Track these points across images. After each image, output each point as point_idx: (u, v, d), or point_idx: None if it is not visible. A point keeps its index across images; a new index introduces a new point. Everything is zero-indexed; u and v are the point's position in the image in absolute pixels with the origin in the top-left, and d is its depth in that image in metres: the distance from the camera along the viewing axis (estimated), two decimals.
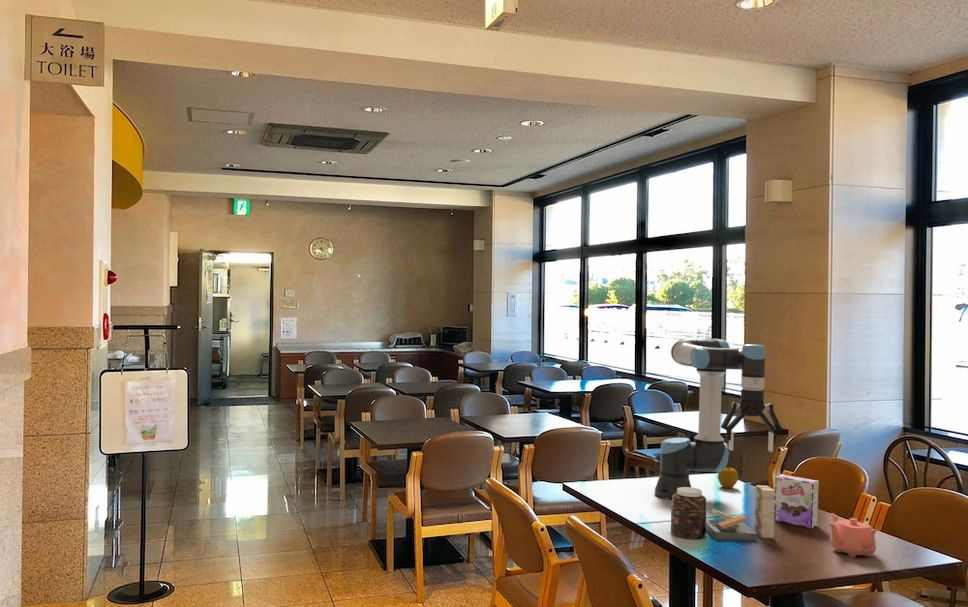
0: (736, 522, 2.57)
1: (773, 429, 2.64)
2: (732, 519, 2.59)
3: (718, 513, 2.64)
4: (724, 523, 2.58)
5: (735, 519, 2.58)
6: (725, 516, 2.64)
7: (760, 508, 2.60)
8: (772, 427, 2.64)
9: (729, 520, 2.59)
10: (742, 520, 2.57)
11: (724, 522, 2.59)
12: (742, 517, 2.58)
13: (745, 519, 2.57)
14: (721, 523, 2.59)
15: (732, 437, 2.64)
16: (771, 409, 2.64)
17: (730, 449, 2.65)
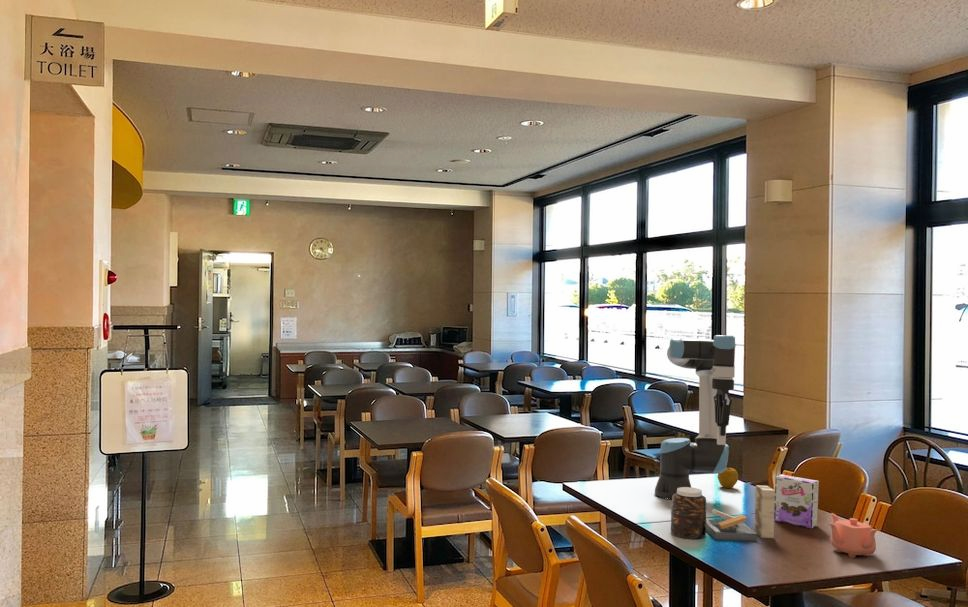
0: (736, 522, 2.57)
1: (719, 422, 2.73)
2: (732, 519, 2.59)
3: (718, 513, 2.64)
4: (724, 523, 2.58)
5: (735, 519, 2.58)
6: (725, 516, 2.64)
7: (760, 508, 2.60)
8: (719, 420, 2.73)
9: (729, 520, 2.59)
10: (742, 520, 2.57)
11: (724, 522, 2.59)
12: (742, 517, 2.58)
13: (745, 519, 2.57)
14: (721, 523, 2.59)
15: (717, 431, 2.75)
16: (723, 403, 2.70)
17: None
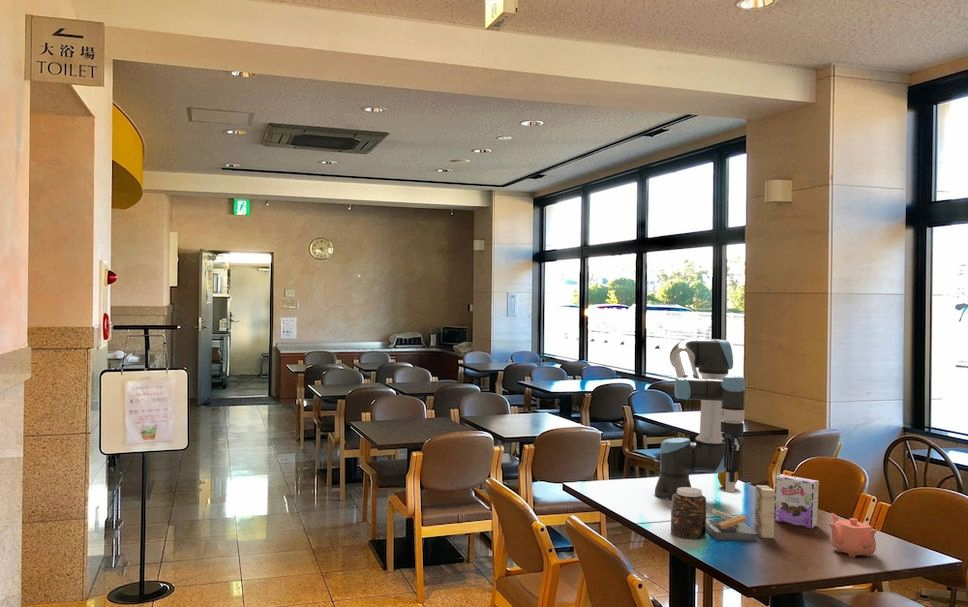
0: (736, 522, 2.57)
1: (728, 468, 2.61)
2: (732, 519, 2.59)
3: (718, 513, 2.64)
4: (724, 523, 2.58)
5: (735, 519, 2.58)
6: (725, 516, 2.64)
7: (760, 508, 2.60)
8: (728, 465, 2.61)
9: (729, 520, 2.59)
10: (742, 520, 2.57)
11: (724, 522, 2.59)
12: (742, 517, 2.58)
13: (745, 519, 2.57)
14: (721, 523, 2.59)
15: (726, 477, 2.62)
16: (733, 448, 2.57)
17: None
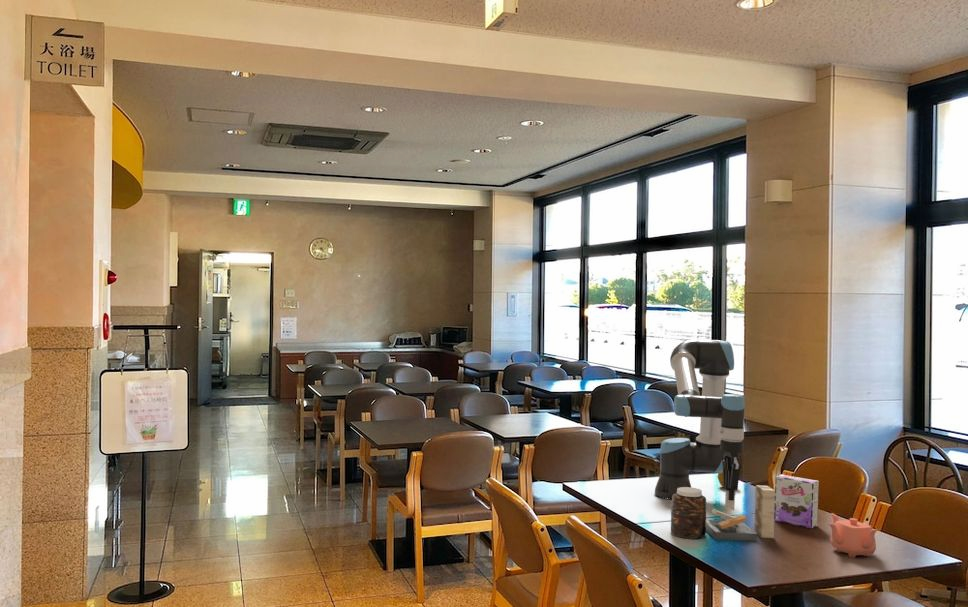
0: (736, 522, 2.57)
1: (728, 486, 2.61)
2: (732, 519, 2.59)
3: (718, 513, 2.64)
4: (724, 523, 2.58)
5: (735, 519, 2.58)
6: (725, 516, 2.64)
7: (760, 508, 2.60)
8: (728, 484, 2.61)
9: (729, 520, 2.59)
10: (742, 520, 2.57)
11: (724, 522, 2.59)
12: (742, 517, 2.58)
13: (745, 519, 2.57)
14: (721, 523, 2.59)
15: (725, 495, 2.63)
16: (732, 467, 2.57)
17: None
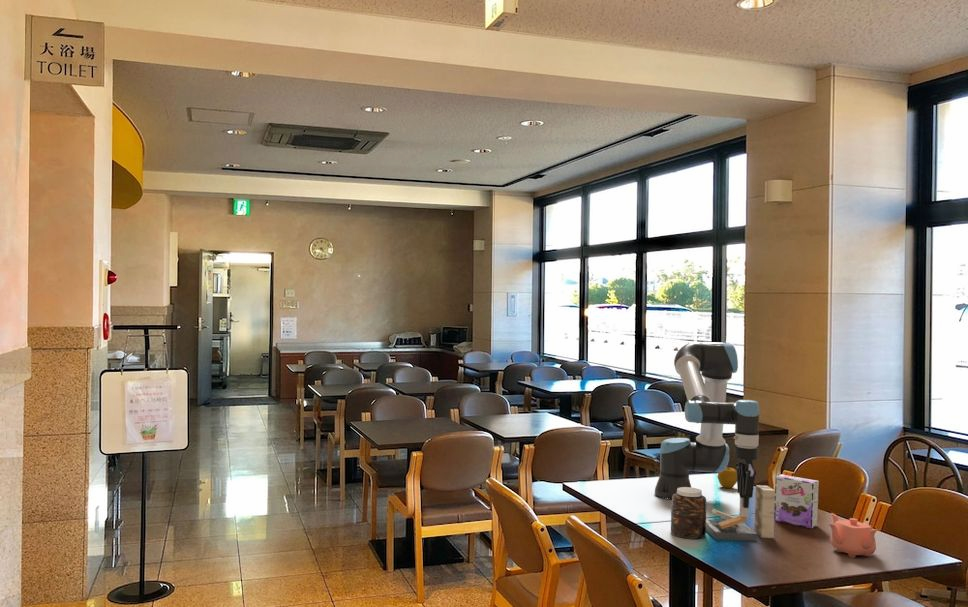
0: (736, 522, 2.57)
1: (742, 493, 2.58)
2: (732, 519, 2.59)
3: (718, 513, 2.64)
4: (724, 523, 2.58)
5: (735, 519, 2.58)
6: (725, 516, 2.64)
7: (760, 508, 2.60)
8: (742, 491, 2.57)
9: (729, 520, 2.59)
10: (742, 520, 2.57)
11: (724, 522, 2.59)
12: (742, 517, 2.58)
13: (745, 519, 2.57)
14: (721, 523, 2.59)
15: (740, 502, 2.59)
16: (747, 474, 2.54)
17: None
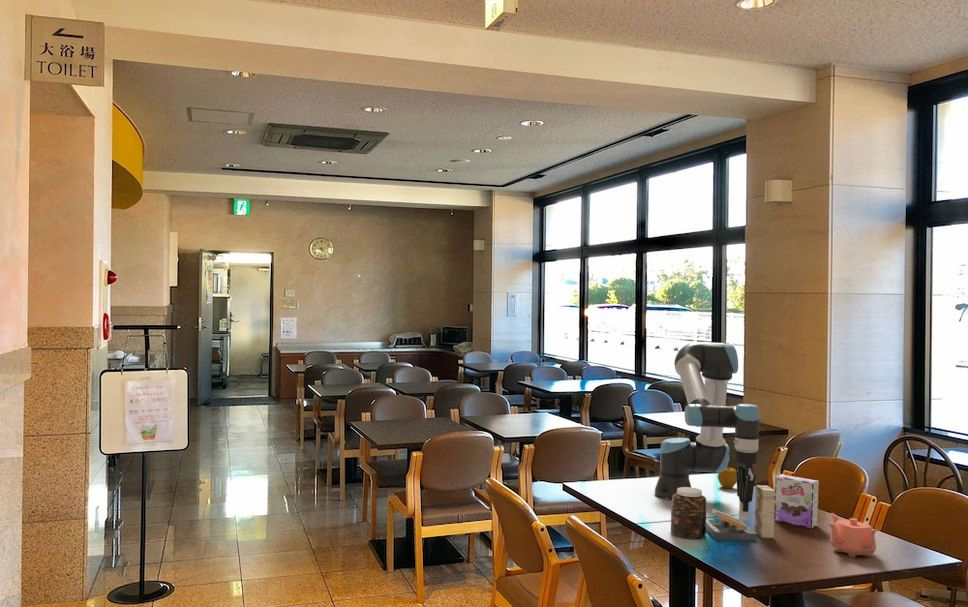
0: (736, 524, 2.57)
1: (742, 497, 2.58)
2: (733, 520, 2.59)
3: (718, 513, 2.64)
4: (726, 517, 2.58)
5: (736, 521, 2.58)
6: None
7: (760, 508, 2.60)
8: (742, 495, 2.58)
9: (730, 518, 2.59)
10: (742, 526, 2.57)
11: (726, 517, 2.59)
12: (743, 524, 2.58)
13: (745, 527, 2.57)
14: (723, 515, 2.59)
15: (739, 506, 2.59)
16: (747, 478, 2.54)
17: None
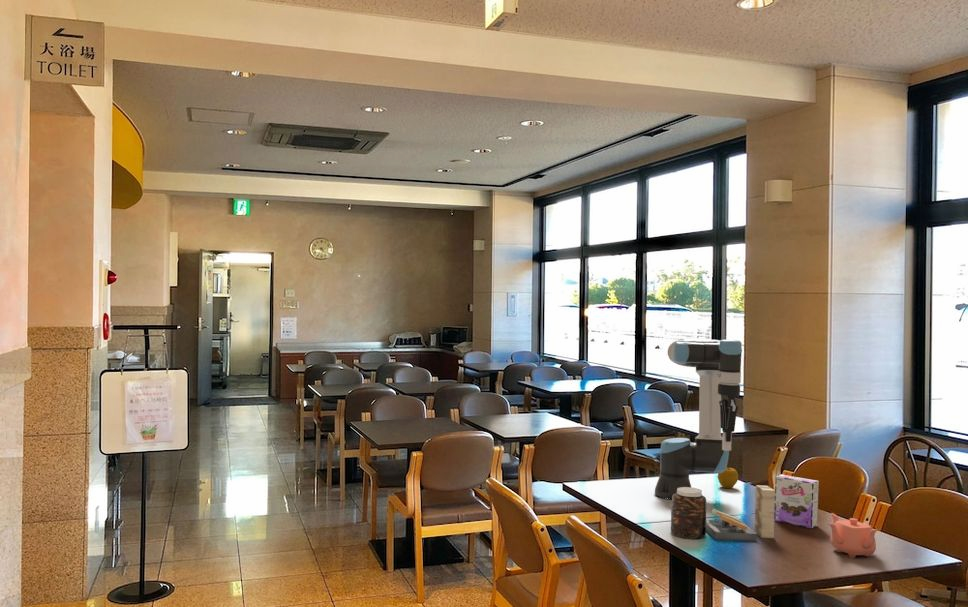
0: (736, 524, 2.57)
1: (725, 428, 2.70)
2: (733, 520, 2.59)
3: (718, 513, 2.64)
4: (726, 517, 2.58)
5: (736, 521, 2.58)
6: None
7: (760, 508, 2.60)
8: (725, 426, 2.70)
9: (730, 518, 2.59)
10: (742, 526, 2.57)
11: (726, 517, 2.59)
12: (743, 524, 2.58)
13: (745, 527, 2.57)
14: (723, 515, 2.59)
15: (722, 437, 2.72)
16: (729, 409, 2.66)
17: None
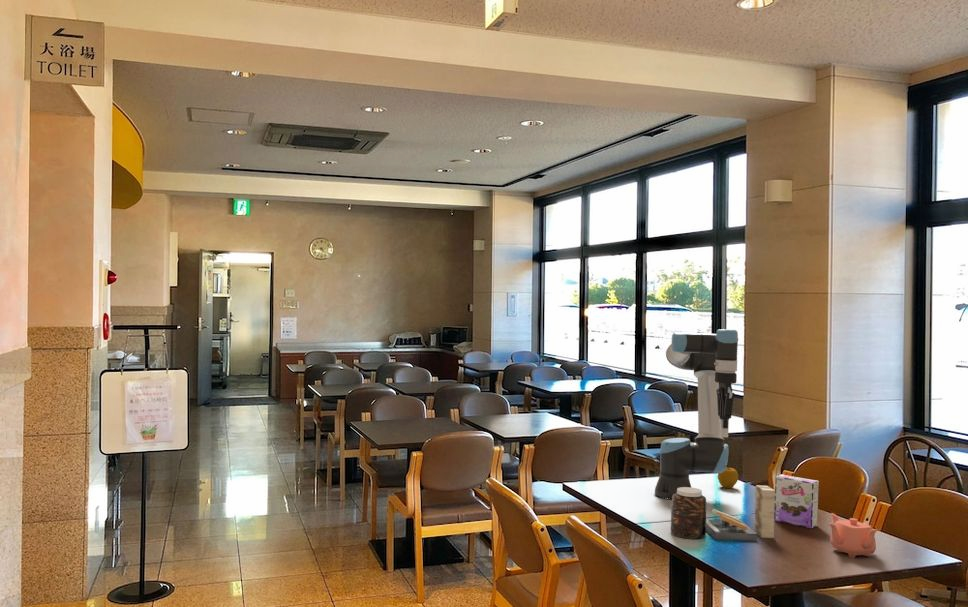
0: (736, 524, 2.57)
1: (722, 415, 2.77)
2: (733, 520, 2.59)
3: (718, 513, 2.64)
4: (726, 517, 2.58)
5: (736, 521, 2.58)
6: None
7: (760, 508, 2.60)
8: (722, 413, 2.77)
9: (730, 518, 2.59)
10: (742, 526, 2.57)
11: (726, 517, 2.59)
12: (743, 524, 2.58)
13: (745, 527, 2.57)
14: (723, 515, 2.59)
15: (720, 424, 2.79)
16: (726, 396, 2.74)
17: None
